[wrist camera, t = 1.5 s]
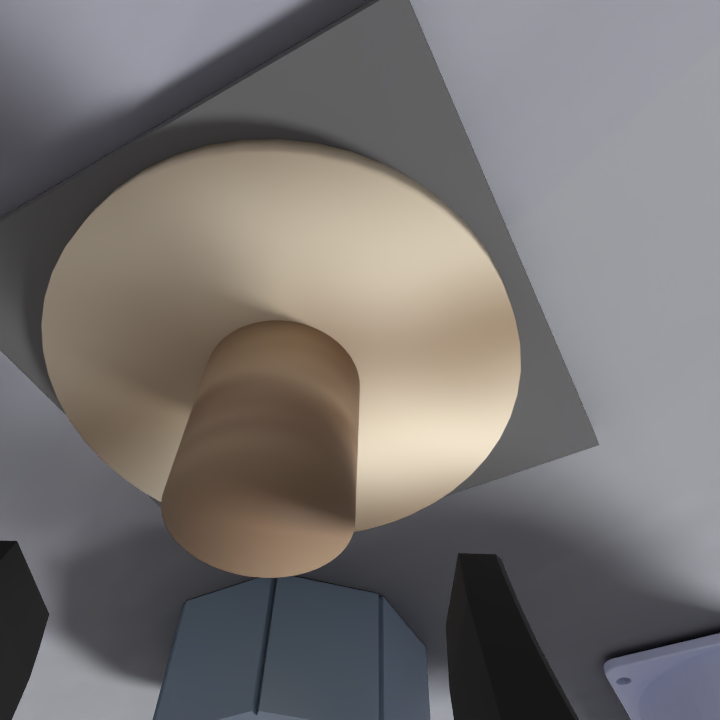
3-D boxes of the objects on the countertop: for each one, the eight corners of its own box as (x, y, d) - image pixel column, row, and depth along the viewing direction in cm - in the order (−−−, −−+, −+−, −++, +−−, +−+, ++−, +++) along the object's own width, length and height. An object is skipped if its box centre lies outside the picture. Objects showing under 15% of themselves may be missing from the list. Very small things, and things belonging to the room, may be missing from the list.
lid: (575, 438, 17) (631, 599, 14) (228, 555, 21) (194, 712, 17) (388, 30, 12) (393, 107, 8) (-48, 278, 15) (-197, 420, 11)
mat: (593, 429, 18) (599, 444, 18) (227, 554, 22) (224, 569, 21) (401, -18, 12) (402, -13, 11) (-67, 257, 15) (-82, 270, 15)
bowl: (455, 683, 26) (467, 814, 22) (260, 730, 29) (243, 855, 25) (344, 550, 21) (338, 688, 18) (124, 620, 24) (79, 754, 20)
